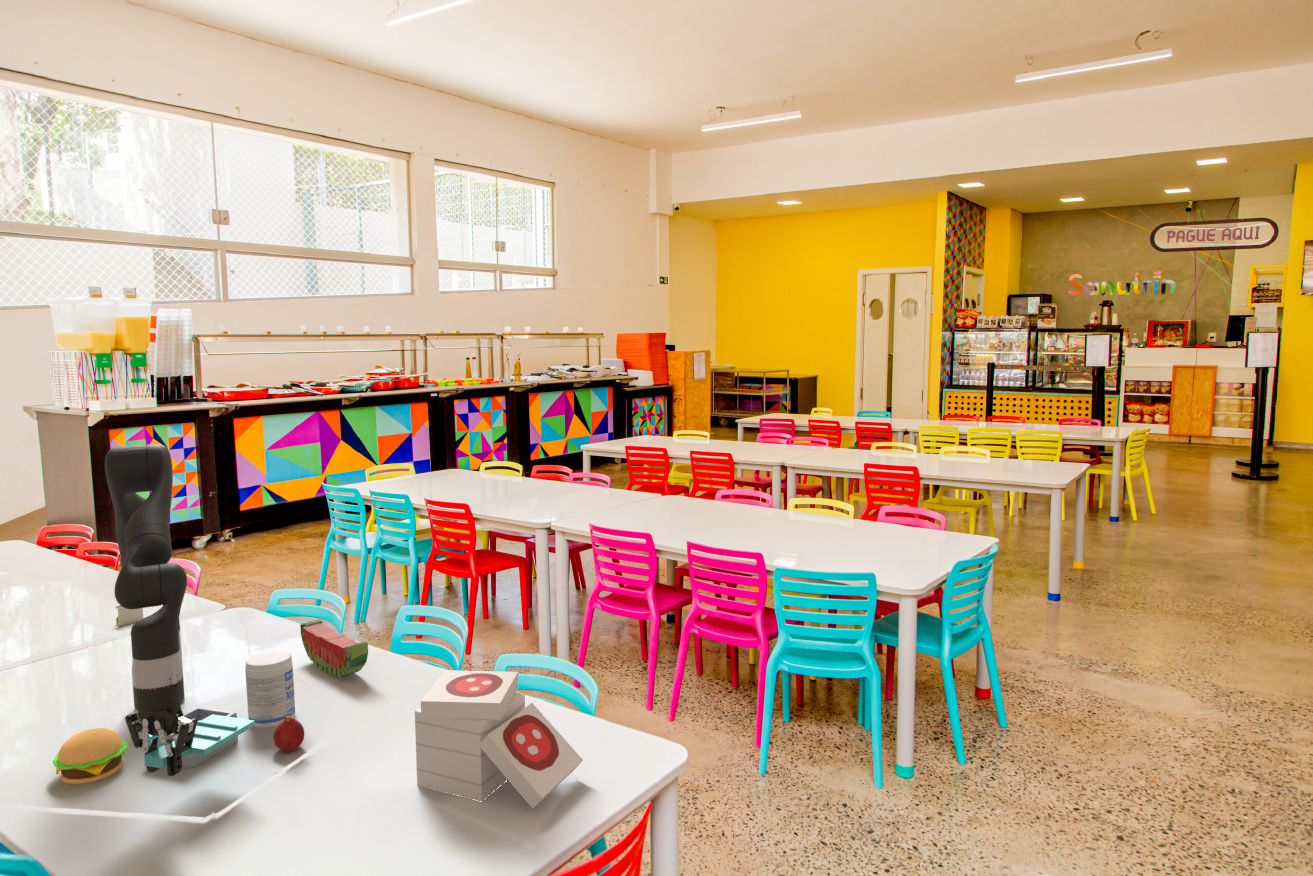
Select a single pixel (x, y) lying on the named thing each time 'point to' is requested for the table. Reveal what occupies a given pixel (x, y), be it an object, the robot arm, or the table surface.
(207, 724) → the lid
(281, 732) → the red round fruit
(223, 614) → the table surface
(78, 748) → the hamburger
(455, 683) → the pizza boxes
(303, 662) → the table surface
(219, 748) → the tub
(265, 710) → the supplement tub
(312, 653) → the fruit slice
